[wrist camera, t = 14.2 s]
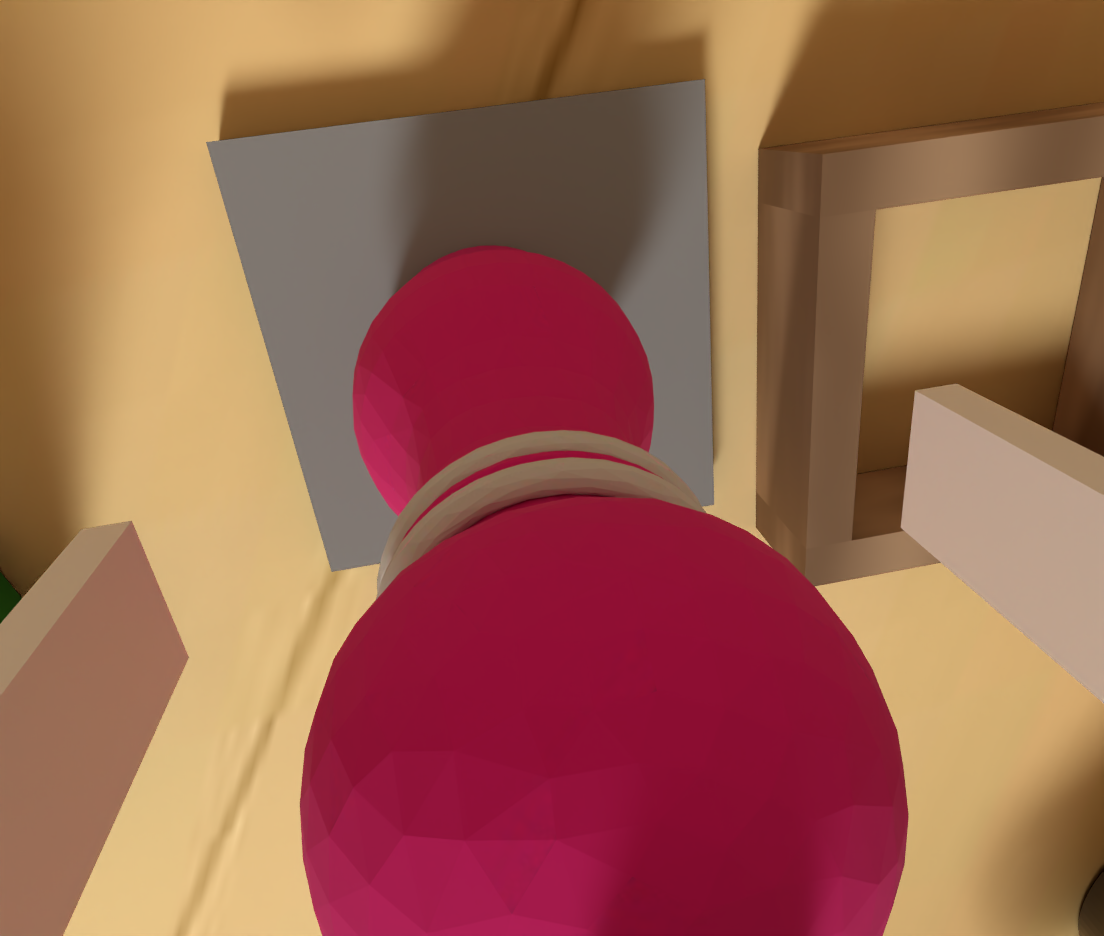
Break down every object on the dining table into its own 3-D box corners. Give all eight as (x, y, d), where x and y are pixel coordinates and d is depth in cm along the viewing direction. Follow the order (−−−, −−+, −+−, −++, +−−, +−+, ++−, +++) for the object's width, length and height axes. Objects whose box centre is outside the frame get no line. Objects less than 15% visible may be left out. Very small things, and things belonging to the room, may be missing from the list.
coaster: (690, 81, 21) (704, 78, 20) (702, 489, 27) (714, 504, 25) (218, 140, 20) (206, 142, 19) (335, 552, 25) (331, 571, 24)
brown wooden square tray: (1162, 94, 23) (1297, 89, 19) (1079, 469, 29) (1172, 519, 25) (758, 149, 22) (823, 154, 18) (756, 527, 28) (804, 588, 24)
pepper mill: (349, 231, 20) (-336, 1169, 2) (611, 220, 21) (1678, 817, 3) (383, 472, 23) (213, 1678, 5) (609, 454, 24) (1129, 1432, 6)
